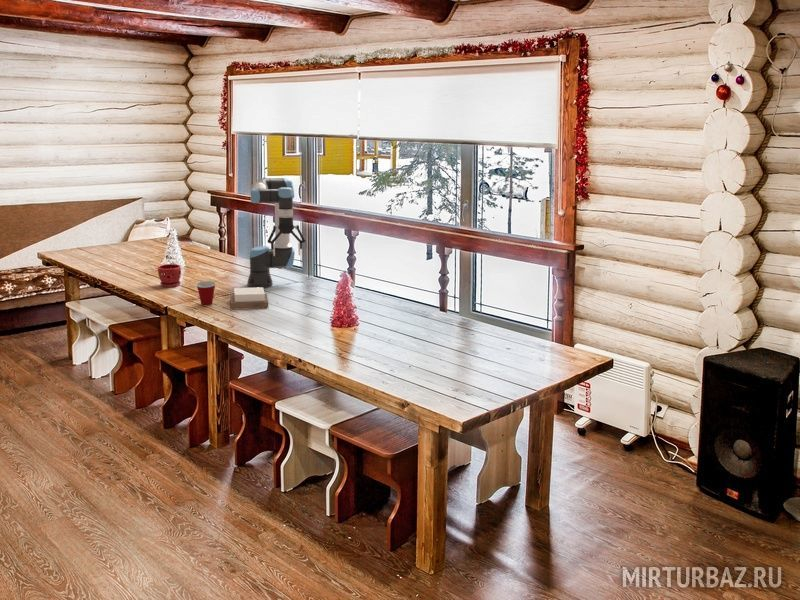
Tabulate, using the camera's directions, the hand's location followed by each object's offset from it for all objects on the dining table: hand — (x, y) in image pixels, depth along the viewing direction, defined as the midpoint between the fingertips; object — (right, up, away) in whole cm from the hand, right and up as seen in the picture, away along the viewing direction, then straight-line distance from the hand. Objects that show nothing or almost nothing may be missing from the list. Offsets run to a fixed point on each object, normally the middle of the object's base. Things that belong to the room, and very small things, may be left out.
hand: (286, 255), depth 438 cm
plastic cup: (-44, -27, +3) cm, 52 cm away
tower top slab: (-22, -23, +6) cm, 32 cm away
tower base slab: (-22, -27, +7) cm, 35 cm away
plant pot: (-76, -16, +43) cm, 89 cm away
